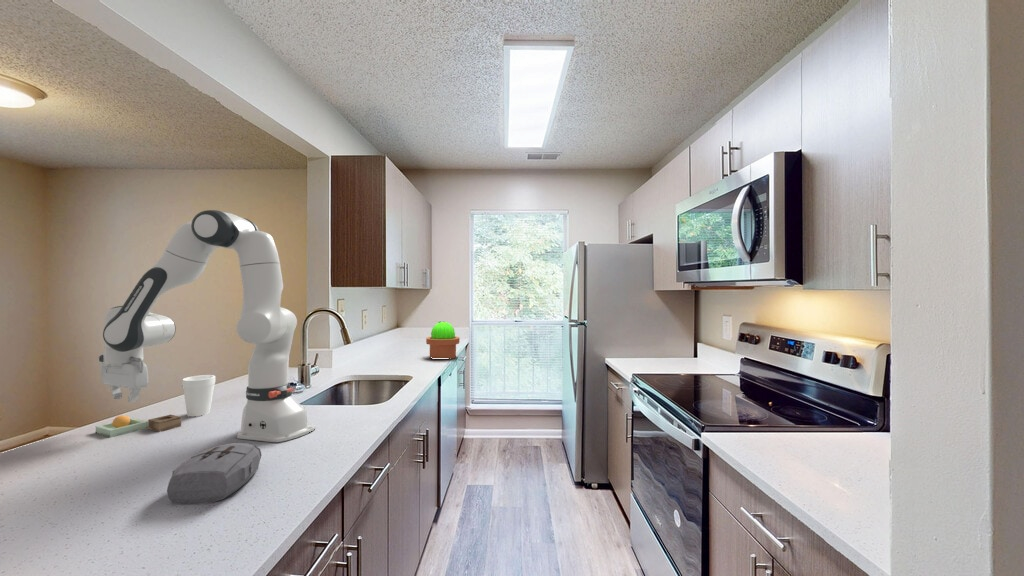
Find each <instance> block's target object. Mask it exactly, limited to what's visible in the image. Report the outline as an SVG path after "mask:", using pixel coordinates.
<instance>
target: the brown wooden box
mask: <svg viewBox="0 0 1024 576" xmlns="http://www.w3.org/2000/svg"><path fill="white" fill-rule="evenodd" d="M147 422H148V428H147V429H148V430H149V429H150V430H149V431H153V430H154V432H157V433H160V431H161V432H164V431H168V430H171V429H175V427H176V428H179V427H182V416H178V415H174V414H166V415H163V416H159V417H154V418H150V419H148V421H147Z"/></svg>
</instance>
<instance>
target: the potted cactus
mask: <svg viewBox="0 0 1024 576" xmlns="http://www.w3.org/2000/svg"><path fill="white" fill-rule="evenodd" d="M425 343H426V345H429V358H430V357H432V358H452V359H451V360H453V359H456V357H457V345H458V344H460V337H459V336H456V332H455V328H454V327H453V326H452V324H451V323H449V322H447V321H438V322H437V323H436V324H434V325H433V327H432V329H431V333H430V336H428V337H426V340H425Z"/></svg>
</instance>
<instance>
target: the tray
mask: <svg viewBox="0 0 1024 576" xmlns="http://www.w3.org/2000/svg"><path fill="white" fill-rule="evenodd" d="M129 418H130V417H129ZM144 429H145V430H146V429H148V421H147V420H141V419H139V418H134V417H131V418H130V423H129V424H128V425H127V426H124V427H120V428H115V427H114V426H113V424H112V422H109V423H104V424H100V425H96V426H95V433H96V432H97V433H96V434H98V433H99V434H98V435H101V434H103V435H102V436H104V437H105V436H106V437H108V436H109V437H108V438H113V436H114V437H117V435H118V436H121V435H125V434H129V433H133V432H137V430H138V431H141V430H144Z"/></svg>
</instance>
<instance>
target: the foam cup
mask: <svg viewBox="0 0 1024 576" xmlns="http://www.w3.org/2000/svg"><path fill="white" fill-rule="evenodd" d="M181 383H182V385H181V386H182V387H183V394H184V401H185V402H184V403H185V408H186V414H187V417H189V416H196V417H202V416H201V415H203V416H206V415H208V413H209V414H210V413H211V412H210V411H211V407H212V400H213V396H214V395H213V394H214V390H215V389H214V388H215V384H216V375H213V374H205V375H204V374H202V375H193V376H188V377H184V378H182V382H181ZM205 414H206V415H205Z"/></svg>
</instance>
